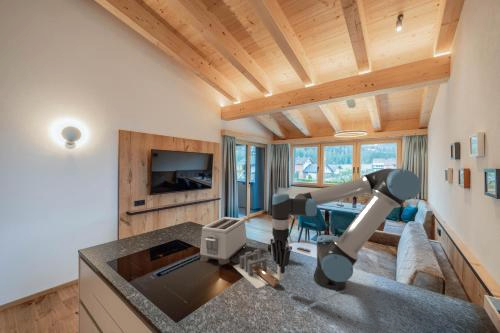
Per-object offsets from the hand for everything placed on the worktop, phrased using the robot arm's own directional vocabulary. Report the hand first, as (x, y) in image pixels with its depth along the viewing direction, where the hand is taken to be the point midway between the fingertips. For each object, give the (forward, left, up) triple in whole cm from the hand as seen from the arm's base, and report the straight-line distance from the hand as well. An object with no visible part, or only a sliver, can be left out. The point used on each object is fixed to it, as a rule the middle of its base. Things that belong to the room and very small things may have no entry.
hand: (280, 278), depth 95 cm
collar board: (+21, 0, -7) cm, 22 cm away
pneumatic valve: (+26, -19, -7) cm, 33 cm away
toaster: (+55, +4, -8) cm, 55 cm away
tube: (+13, 0, -6) cm, 15 cm away
